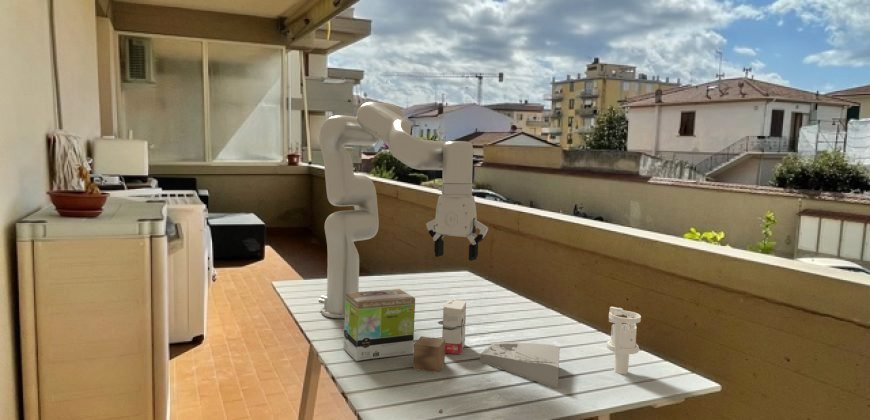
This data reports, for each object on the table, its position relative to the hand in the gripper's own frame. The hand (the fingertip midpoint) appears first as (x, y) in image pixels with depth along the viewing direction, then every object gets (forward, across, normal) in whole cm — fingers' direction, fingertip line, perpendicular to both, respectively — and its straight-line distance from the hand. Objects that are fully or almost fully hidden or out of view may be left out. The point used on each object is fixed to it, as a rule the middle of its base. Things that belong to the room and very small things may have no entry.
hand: (455, 257), depth 141 cm
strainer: (+24, +40, +9) cm, 48 cm away
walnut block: (+24, +1, -14) cm, 28 cm away
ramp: (+25, +19, -1) cm, 31 cm away
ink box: (+24, 0, 0) cm, 24 cm away
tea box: (+24, -14, -14) cm, 31 cm away
